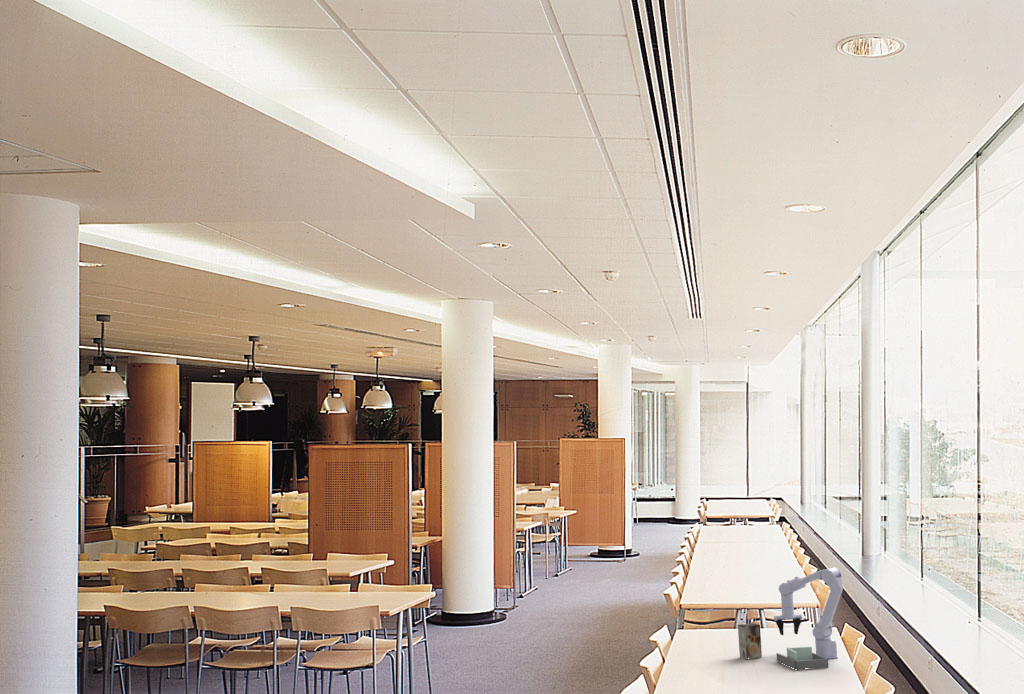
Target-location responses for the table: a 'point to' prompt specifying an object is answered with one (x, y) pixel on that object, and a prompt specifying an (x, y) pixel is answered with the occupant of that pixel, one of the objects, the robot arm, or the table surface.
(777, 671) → the table surface
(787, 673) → the table surface
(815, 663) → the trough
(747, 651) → the coffee box
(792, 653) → the l-shaped corner panel
